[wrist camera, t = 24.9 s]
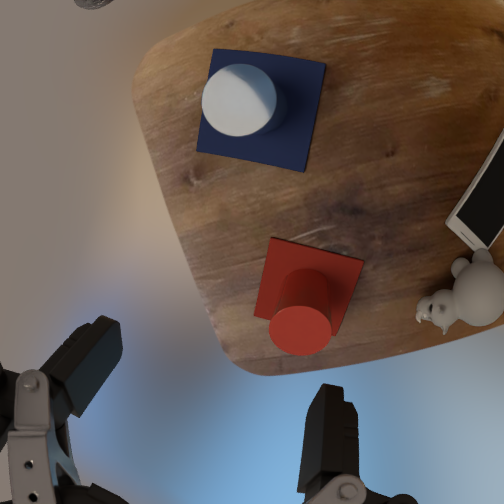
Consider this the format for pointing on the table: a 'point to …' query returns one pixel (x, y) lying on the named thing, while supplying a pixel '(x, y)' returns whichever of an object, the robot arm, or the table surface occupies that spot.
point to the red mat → (304, 257)
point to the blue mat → (295, 123)
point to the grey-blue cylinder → (243, 101)
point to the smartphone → (482, 203)
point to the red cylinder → (302, 313)
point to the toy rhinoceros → (467, 294)
